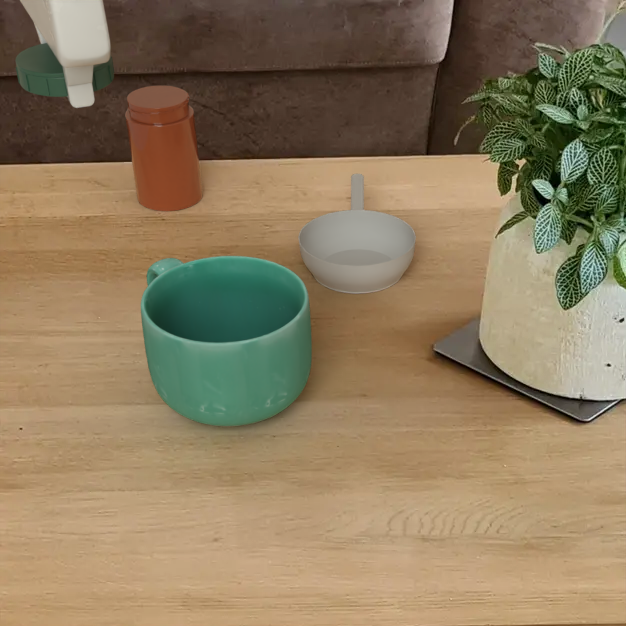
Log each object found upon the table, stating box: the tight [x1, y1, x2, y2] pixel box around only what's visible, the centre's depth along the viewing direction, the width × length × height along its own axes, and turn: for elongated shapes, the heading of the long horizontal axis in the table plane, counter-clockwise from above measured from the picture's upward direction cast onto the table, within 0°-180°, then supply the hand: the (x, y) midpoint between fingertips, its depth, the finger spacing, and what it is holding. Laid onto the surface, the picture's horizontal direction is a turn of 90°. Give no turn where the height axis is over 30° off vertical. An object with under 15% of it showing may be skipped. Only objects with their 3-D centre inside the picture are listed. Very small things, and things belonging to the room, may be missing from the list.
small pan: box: [297, 173, 417, 295], centre depth 111 cm, size 11×18×4 cm, turn 3°
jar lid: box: [15, 43, 115, 98], centre depth 90 cm, size 7×7×2 cm
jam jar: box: [124, 85, 204, 212], centre depth 117 cm, size 7×7×11 cm
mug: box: [140, 255, 313, 427], centre depth 91 cm, size 17×13×10 cm
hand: (69, 84), depth 91 cm, fingers closed on jar lid, 7 cm apart
